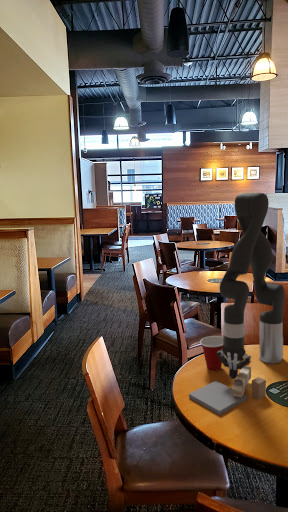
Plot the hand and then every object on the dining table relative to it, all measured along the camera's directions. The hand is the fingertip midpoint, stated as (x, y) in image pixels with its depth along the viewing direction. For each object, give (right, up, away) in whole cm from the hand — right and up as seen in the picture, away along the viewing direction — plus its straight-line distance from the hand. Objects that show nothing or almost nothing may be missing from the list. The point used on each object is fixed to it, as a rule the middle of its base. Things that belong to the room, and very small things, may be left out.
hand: (233, 377), depth 134 cm
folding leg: (+2, -2, -4) cm, 5 cm away
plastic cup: (-4, -1, +15) cm, 16 cm away
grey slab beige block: (-4, -4, -7) cm, 9 cm away
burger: (+7, 0, +22) cm, 23 cm away
